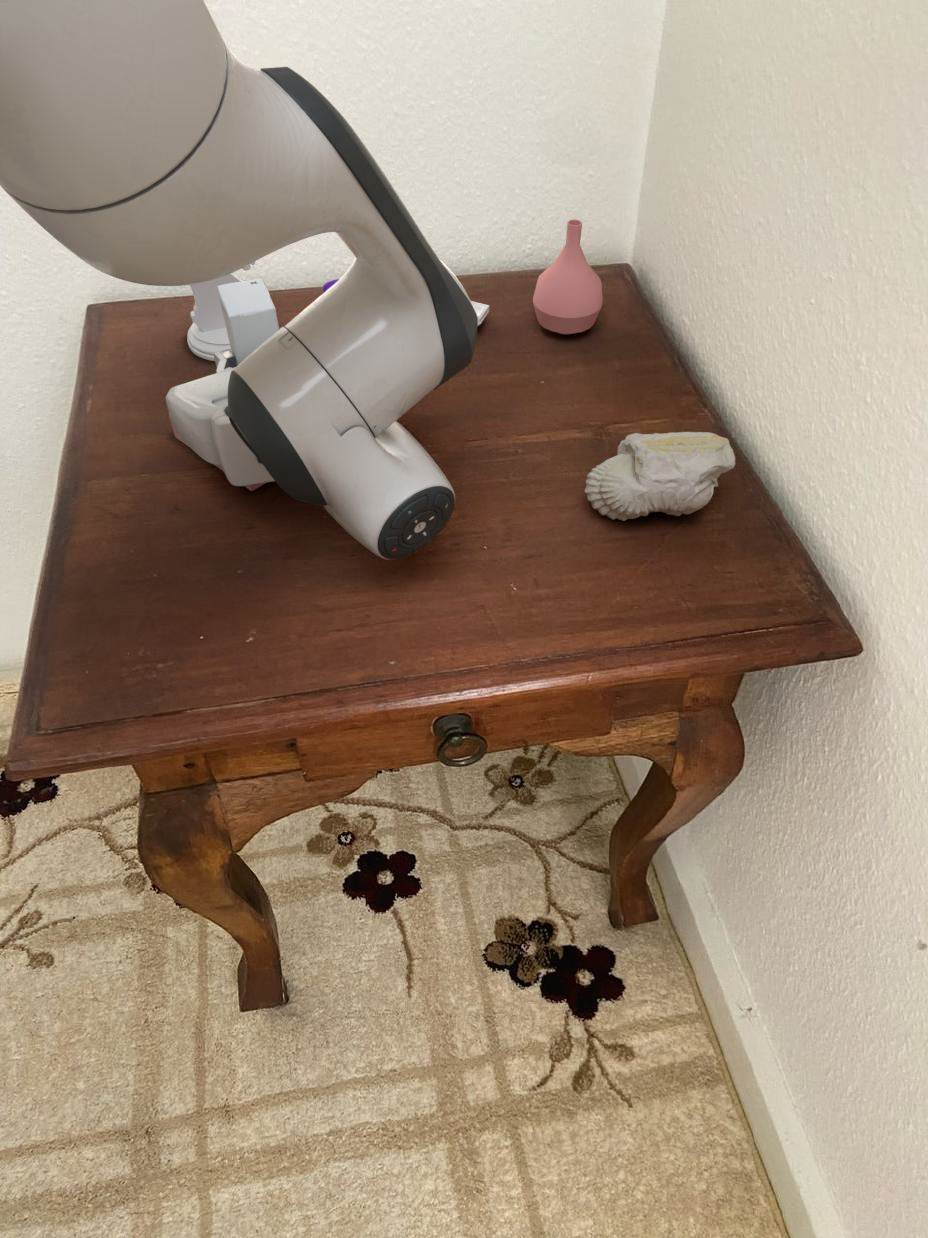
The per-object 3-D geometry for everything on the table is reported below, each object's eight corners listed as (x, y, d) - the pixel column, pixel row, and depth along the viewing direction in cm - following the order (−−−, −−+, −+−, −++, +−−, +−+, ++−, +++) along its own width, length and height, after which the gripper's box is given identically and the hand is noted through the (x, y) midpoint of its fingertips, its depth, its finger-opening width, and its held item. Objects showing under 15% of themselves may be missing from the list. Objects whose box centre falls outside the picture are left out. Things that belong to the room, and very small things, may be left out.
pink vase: (517, 330, 99) (522, 223, 90) (558, 305, 103) (567, 200, 94) (571, 354, 95) (582, 246, 86) (612, 328, 99) (627, 221, 90)
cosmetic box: (241, 400, 86) (215, 283, 77) (283, 392, 87) (263, 275, 78) (253, 434, 82) (227, 316, 73) (297, 425, 83) (277, 307, 74)
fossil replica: (562, 497, 79) (630, 569, 74) (569, 427, 72) (644, 501, 67) (666, 447, 83) (738, 512, 78) (682, 376, 76) (762, 442, 71)
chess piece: (286, 351, 96) (262, 212, 85) (197, 369, 93) (160, 229, 82) (265, 309, 102) (241, 175, 91) (181, 326, 100) (145, 190, 88)
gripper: (426, 350, 74) (349, 285, 82) (197, 429, 66) (136, 349, 74) (428, 413, 78) (355, 346, 86) (215, 494, 71) (156, 412, 79)
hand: (252, 348), depth 80 cm, fingers closed on cosmetic box, 5 cm apart
